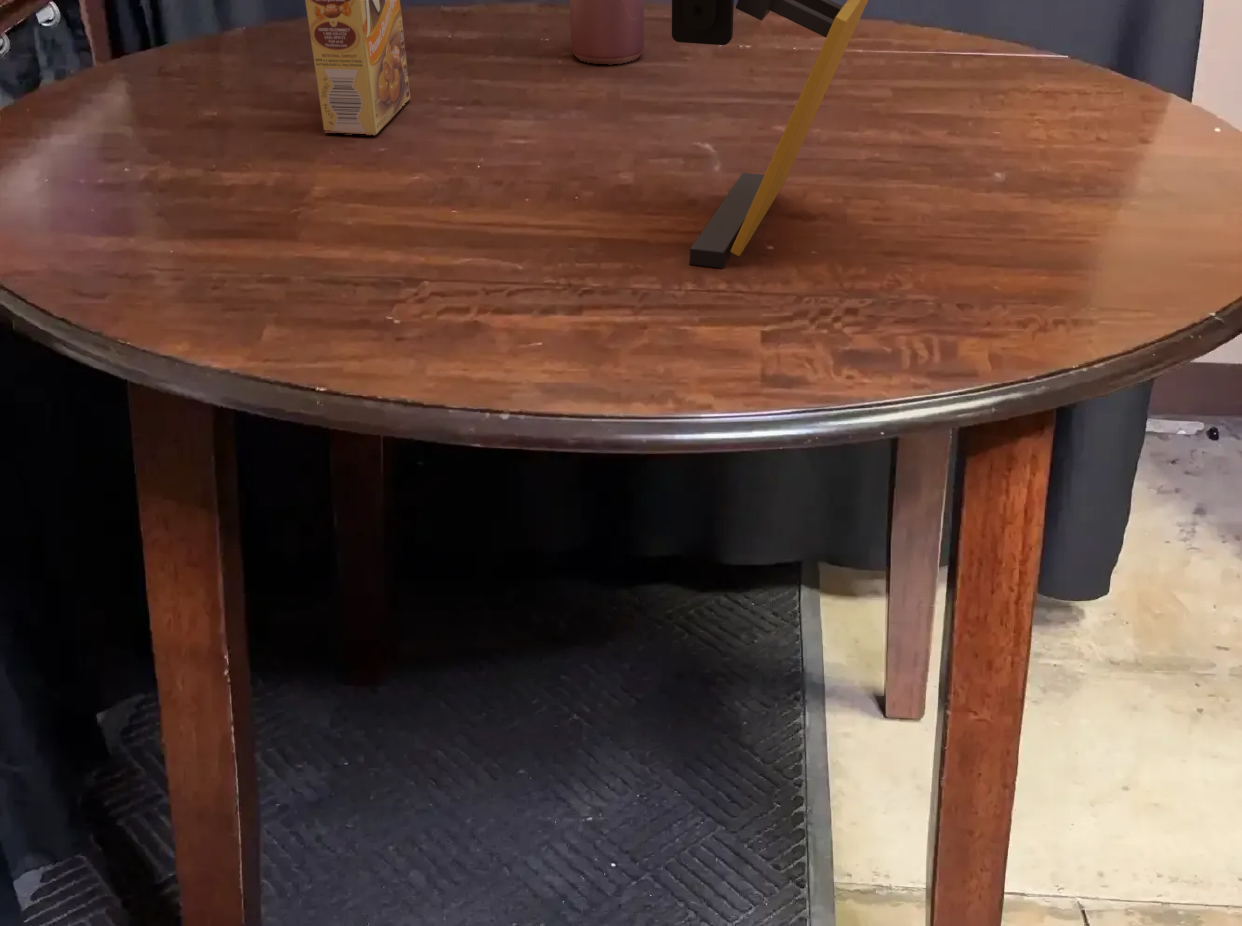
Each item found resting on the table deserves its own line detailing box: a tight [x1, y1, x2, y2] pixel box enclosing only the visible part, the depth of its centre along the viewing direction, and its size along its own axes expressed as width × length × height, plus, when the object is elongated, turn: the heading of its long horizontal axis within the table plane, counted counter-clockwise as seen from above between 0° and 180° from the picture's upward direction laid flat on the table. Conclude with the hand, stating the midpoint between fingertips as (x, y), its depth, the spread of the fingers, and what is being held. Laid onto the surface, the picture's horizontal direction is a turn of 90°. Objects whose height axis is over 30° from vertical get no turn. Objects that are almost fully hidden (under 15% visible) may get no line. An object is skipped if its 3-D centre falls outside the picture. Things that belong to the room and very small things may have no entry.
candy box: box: [304, 0, 411, 137], centre depth 98 cm, size 9×4×15 cm, turn 171°
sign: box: [731, 0, 869, 257], centre depth 80 cm, size 14×12×6 cm
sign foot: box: [689, 172, 765, 269], centre depth 85 cm, size 2×13×1 cm, turn 163°
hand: (724, 19), depth 78 cm, fingers open, 9 cm apart
